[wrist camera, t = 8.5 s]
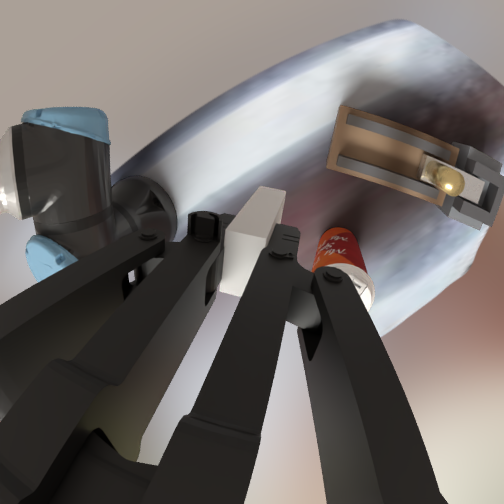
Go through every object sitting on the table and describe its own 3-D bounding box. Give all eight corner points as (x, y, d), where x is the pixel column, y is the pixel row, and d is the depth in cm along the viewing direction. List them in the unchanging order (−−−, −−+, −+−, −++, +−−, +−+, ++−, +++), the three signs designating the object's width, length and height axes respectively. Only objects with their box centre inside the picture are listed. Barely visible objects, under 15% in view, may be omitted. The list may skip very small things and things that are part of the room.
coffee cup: (332, 209, 41) (332, 255, 28) (374, 240, 41) (391, 296, 28) (300, 250, 45) (287, 308, 32) (342, 278, 45) (342, 342, 32)
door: (326, 161, 38) (326, 170, 31) (338, 107, 34) (341, 104, 27) (428, 194, 36) (447, 211, 29) (442, 143, 32) (466, 151, 25)
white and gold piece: (416, 176, 30) (437, 192, 23) (422, 153, 28) (446, 164, 22) (471, 199, 29) (499, 220, 22) (478, 178, 27) (508, 195, 20)
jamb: (434, 203, 36) (455, 224, 29) (452, 141, 31) (479, 148, 24) (463, 215, 35) (487, 238, 28) (482, 156, 30) (511, 167, 23)
